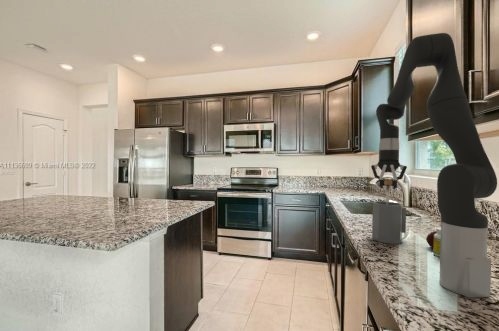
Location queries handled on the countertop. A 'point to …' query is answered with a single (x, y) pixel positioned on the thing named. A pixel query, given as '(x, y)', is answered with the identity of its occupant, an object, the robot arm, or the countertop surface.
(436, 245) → the supplement bottle
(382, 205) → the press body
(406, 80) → the robot arm
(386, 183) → the plunger
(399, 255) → the countertop surface
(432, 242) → the potato
